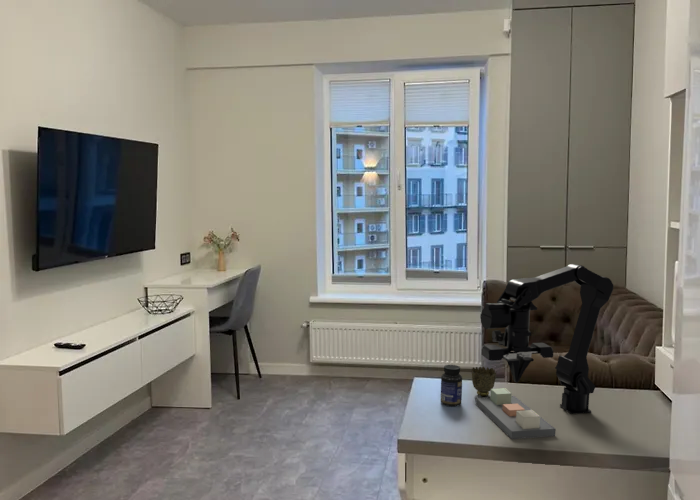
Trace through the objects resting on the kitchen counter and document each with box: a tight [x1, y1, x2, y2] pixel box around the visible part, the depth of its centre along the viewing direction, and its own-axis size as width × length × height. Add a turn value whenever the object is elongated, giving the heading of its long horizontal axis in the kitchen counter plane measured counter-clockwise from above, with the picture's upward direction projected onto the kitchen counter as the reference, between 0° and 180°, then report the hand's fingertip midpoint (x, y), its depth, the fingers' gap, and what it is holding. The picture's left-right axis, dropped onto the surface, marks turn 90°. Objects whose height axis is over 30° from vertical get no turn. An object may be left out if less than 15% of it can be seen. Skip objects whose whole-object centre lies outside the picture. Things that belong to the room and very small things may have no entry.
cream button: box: [516, 409, 541, 429], centre depth 159 cm, size 4×4×3 cm
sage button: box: [489, 387, 512, 405], centre depth 175 cm, size 4×4×3 cm
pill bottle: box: [440, 364, 463, 408], centre depth 178 cm, size 6×6×11 cm
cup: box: [470, 366, 497, 398], centre depth 185 cm, size 8×7×8 cm
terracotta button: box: [502, 403, 525, 416], centre depth 167 cm, size 4×4×3 cm
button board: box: [475, 395, 556, 440], centre depth 167 cm, size 12×24×2 cm, turn 10°
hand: (516, 381), depth 168 cm, fingers closed
